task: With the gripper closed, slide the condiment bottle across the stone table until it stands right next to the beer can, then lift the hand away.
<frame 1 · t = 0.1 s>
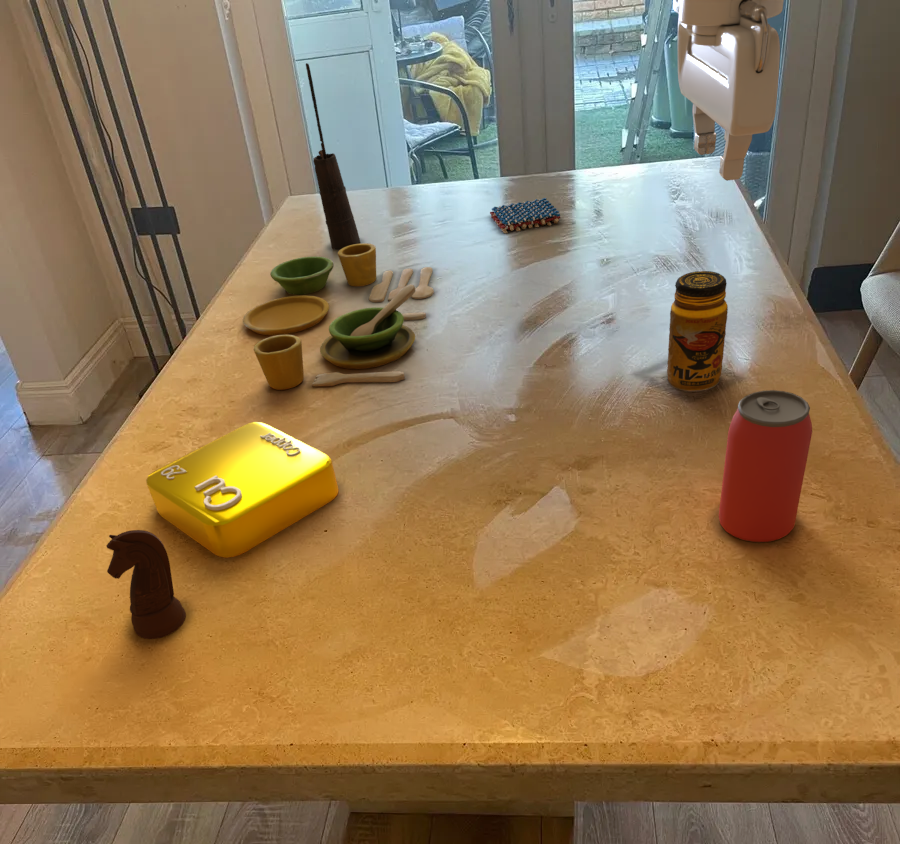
hand: (716, 164, 83), 23 cm above the table, tool pointing down, fingers open, 8 cm apart
condiment: (688, 380, 99), on the table
tableware set: (332, 328, 123), on the table
butter churn: (344, 245, 150), on the table
chess piece: (164, 624, 76), on the table
beer can: (755, 526, 77), on the table
woven mat: (524, 222, 148), on the table
element tile: (249, 504, 89), on the table
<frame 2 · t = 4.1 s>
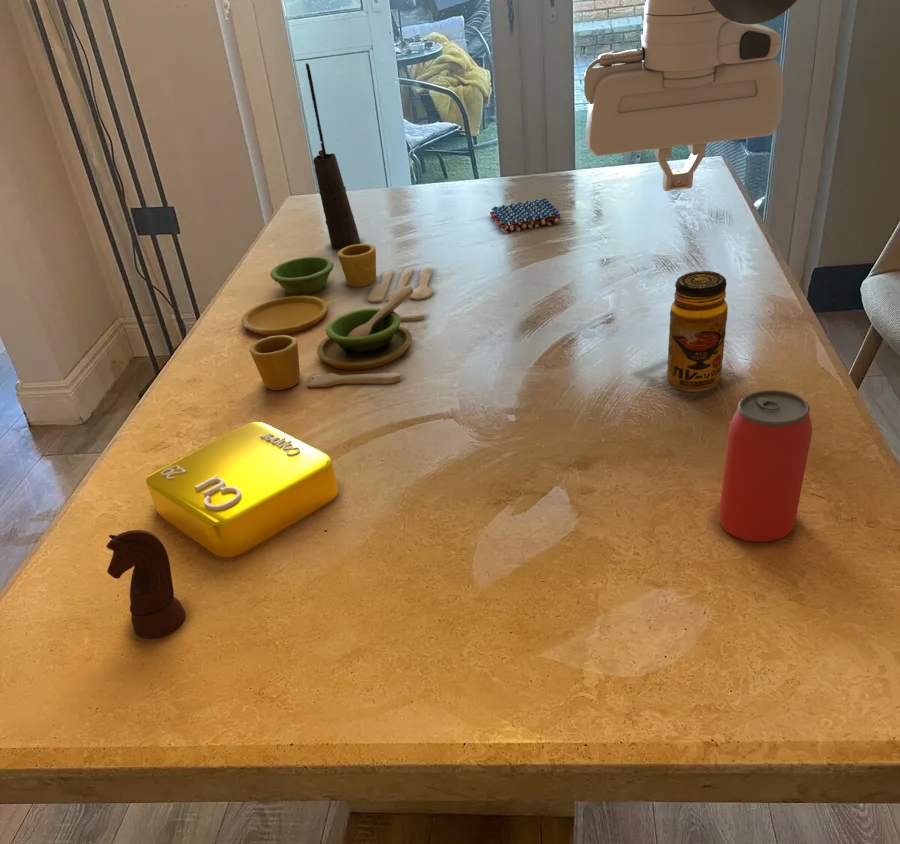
hand: (677, 188, 95), 18 cm above the table, tool pointing down, fingers closed
nothing on the table moved.
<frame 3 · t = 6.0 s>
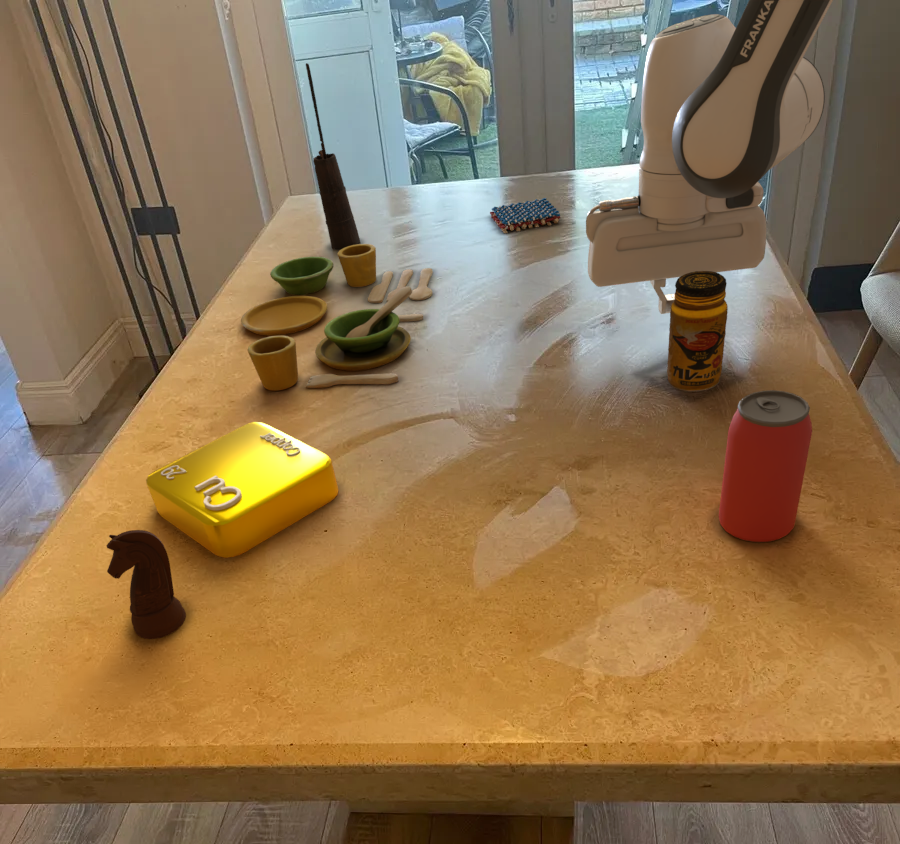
hand: (671, 311, 104), 4 cm above the table, tool pointing down, fingers closed
nothing on the table moved.
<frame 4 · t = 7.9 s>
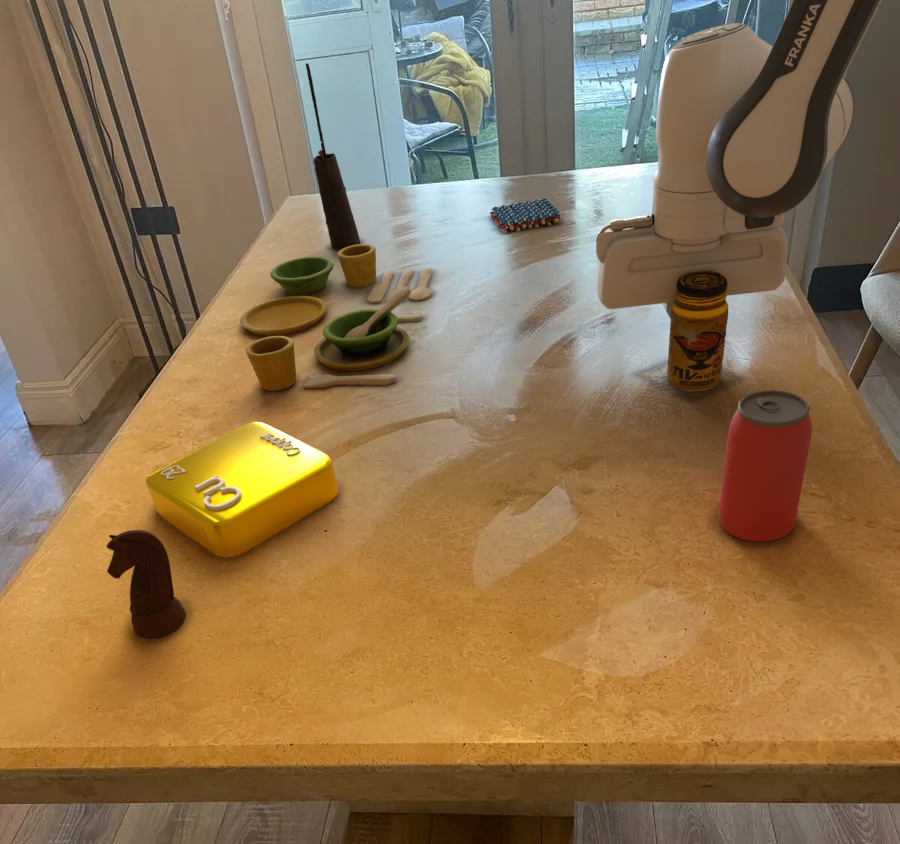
hand: (685, 334, 99), 4 cm above the table, tool pointing down, fingers closed
condiment: (688, 379, 99), on the table, touching gripper
everything else where it was.
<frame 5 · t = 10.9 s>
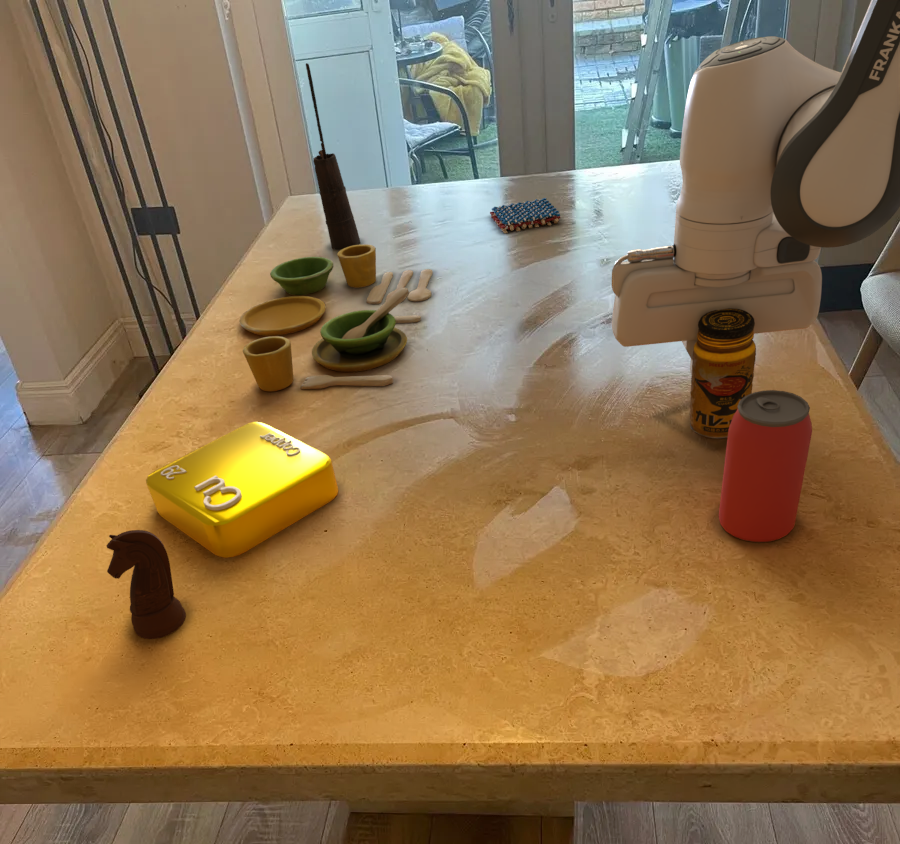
hand: (706, 373, 90), 4 cm above the table, tool pointing down, fingers closed
condiment: (713, 423, 91), on the table, touching gripper
everything else where it was.
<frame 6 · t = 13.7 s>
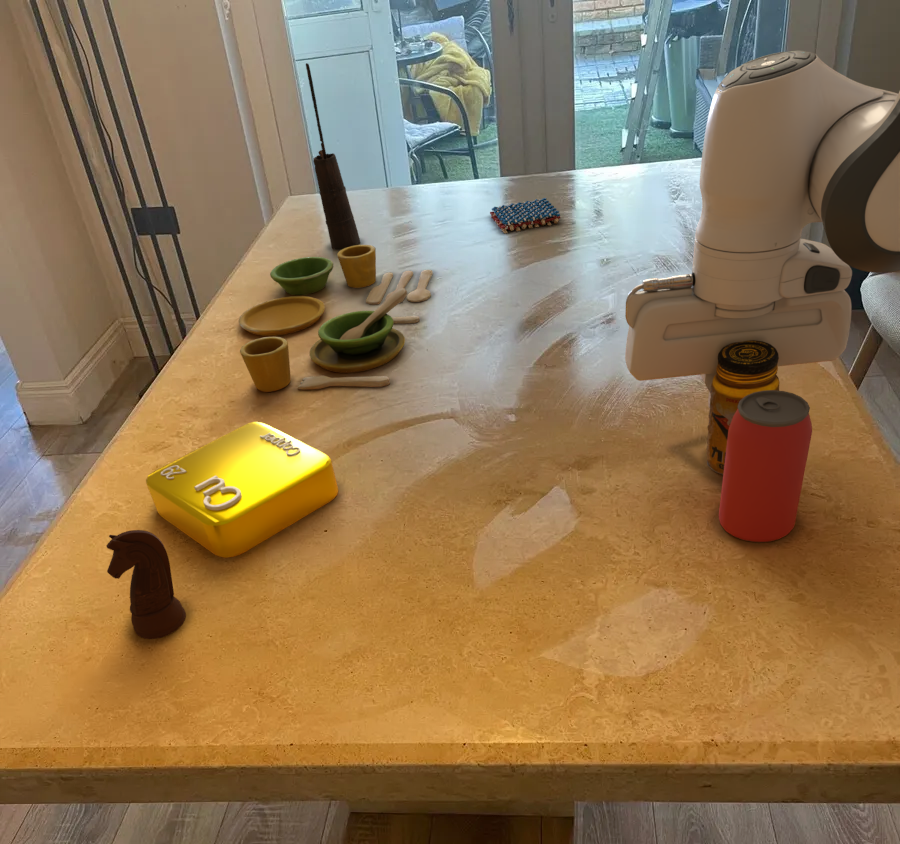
hand: (726, 407, 85), 4 cm above the table, tool pointing down, fingers closed
condiment: (732, 460, 85), on the table, touching gripper
everything else where it was.
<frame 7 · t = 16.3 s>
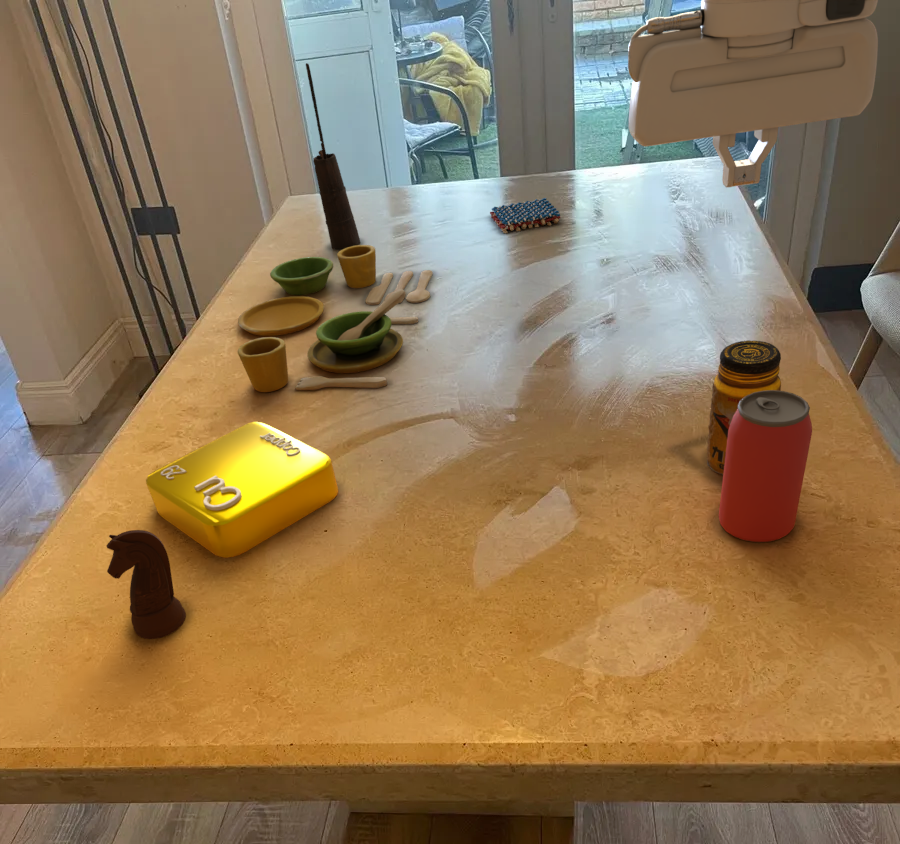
hand: (740, 184, 78), 23 cm above the table, tool pointing down, fingers closed
condiment: (732, 461, 85), on the table
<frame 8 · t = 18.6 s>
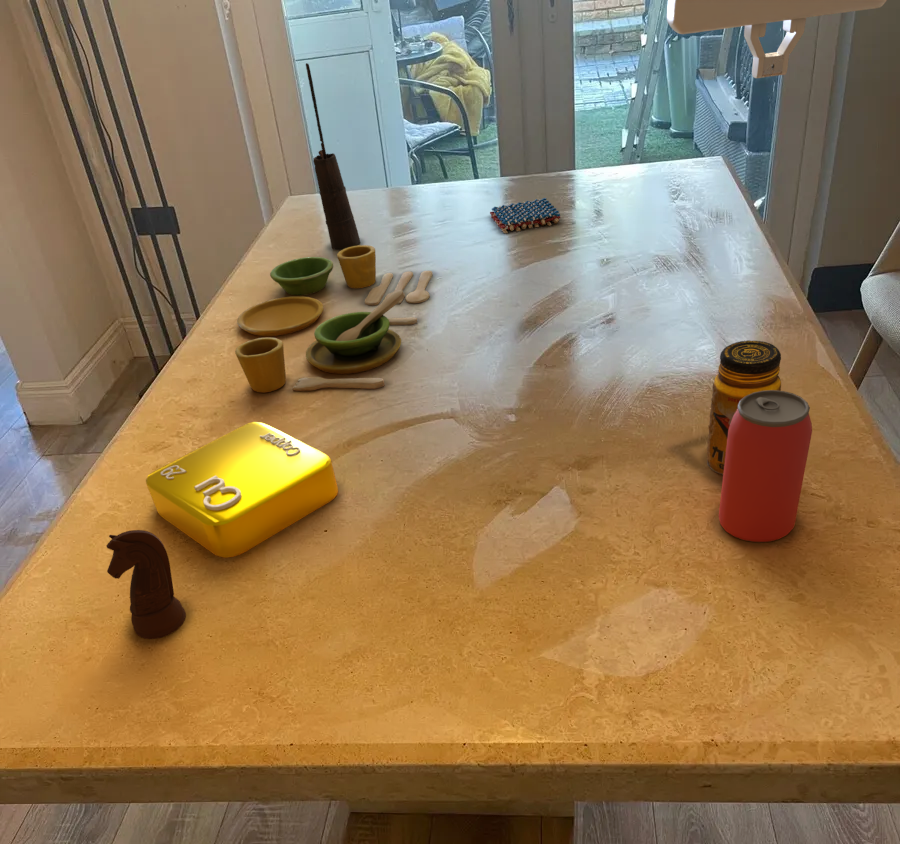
hand: (768, 75, 83), 29 cm above the table, tool pointing down, fingers closed
at the end: condiment inside the target area on the table beside the beer can (2.0 cm from its centre), on the table; condiment tilted 0°; beer can moved 0.2 cm from its start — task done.
